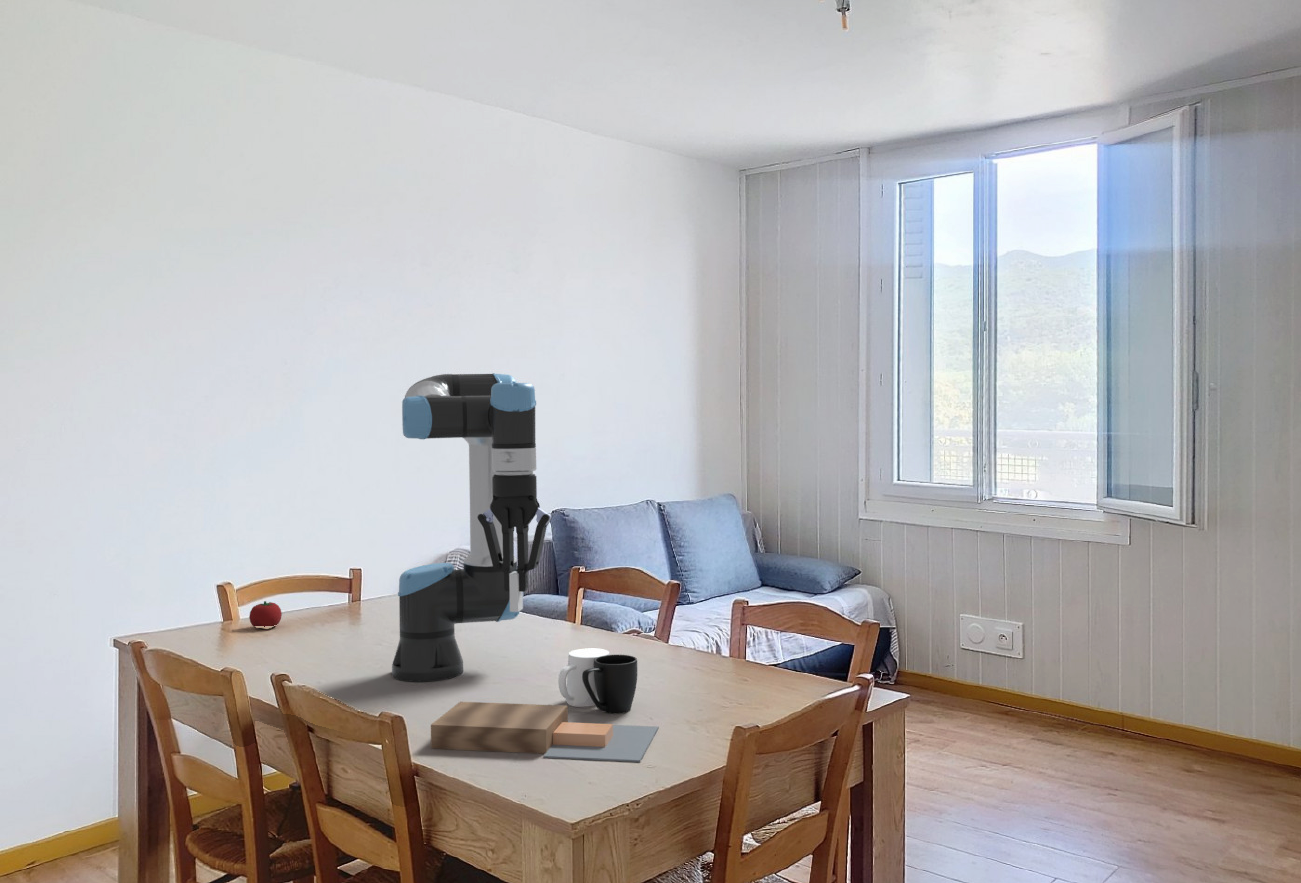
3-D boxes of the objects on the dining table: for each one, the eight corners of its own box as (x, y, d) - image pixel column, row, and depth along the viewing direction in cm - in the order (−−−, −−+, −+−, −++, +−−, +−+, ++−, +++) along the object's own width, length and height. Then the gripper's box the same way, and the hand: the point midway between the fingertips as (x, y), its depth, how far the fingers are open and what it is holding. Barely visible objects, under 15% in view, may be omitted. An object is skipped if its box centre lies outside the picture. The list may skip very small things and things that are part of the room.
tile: (553, 744, 174) (552, 732, 174) (562, 733, 180) (562, 722, 180) (605, 746, 172) (605, 735, 172) (613, 735, 178) (612, 724, 178)
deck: (431, 748, 174) (430, 724, 174) (460, 723, 188) (460, 701, 187) (546, 753, 170) (546, 729, 170) (567, 728, 184) (567, 705, 184)
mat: (543, 757, 168) (543, 755, 168) (570, 724, 186) (570, 723, 186) (640, 762, 166) (640, 760, 166) (658, 728, 183) (658, 726, 183)
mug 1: (593, 645, 208) (620, 651, 202) (594, 691, 208) (621, 699, 202) (547, 656, 199) (574, 662, 194) (547, 704, 200) (574, 712, 194)
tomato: (275, 631, 271) (274, 603, 271) (245, 631, 272) (244, 604, 271) (286, 624, 279) (285, 598, 279) (257, 625, 280) (256, 598, 279)
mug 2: (569, 713, 193) (569, 663, 193) (618, 701, 201) (617, 652, 201) (598, 723, 187) (597, 670, 187) (646, 709, 195) (646, 659, 195)
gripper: (470, 474, 175) (472, 613, 175) (545, 474, 172) (547, 615, 173) (485, 471, 182) (487, 605, 183) (556, 471, 180) (558, 606, 180)
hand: (516, 610), depth 178 cm, fingers closed
